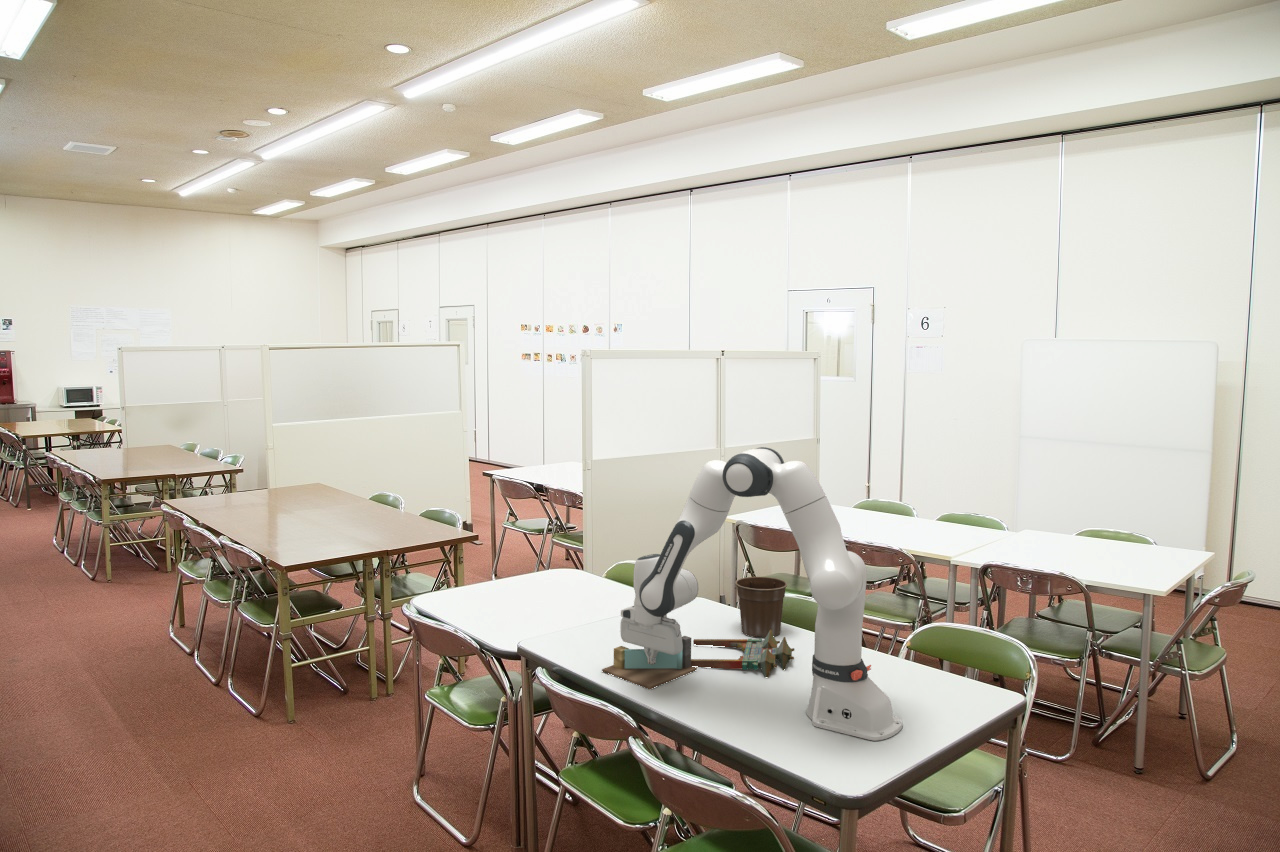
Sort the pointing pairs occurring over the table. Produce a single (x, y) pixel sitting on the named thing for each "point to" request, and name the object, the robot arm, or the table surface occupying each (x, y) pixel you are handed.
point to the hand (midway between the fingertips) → (651, 663)
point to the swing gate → (639, 660)
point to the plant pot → (761, 605)
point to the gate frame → (650, 675)
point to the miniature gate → (749, 654)
